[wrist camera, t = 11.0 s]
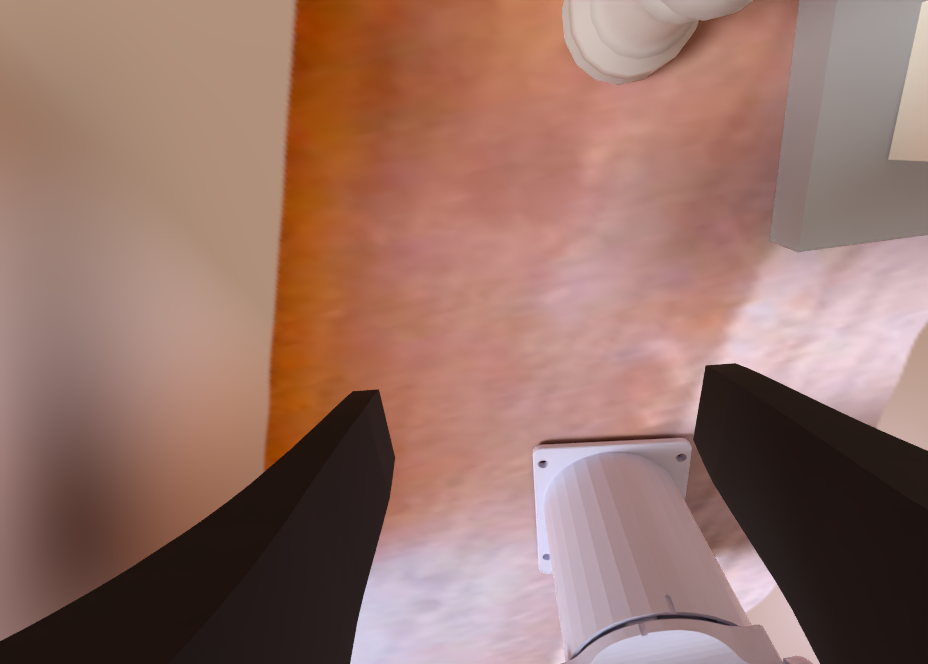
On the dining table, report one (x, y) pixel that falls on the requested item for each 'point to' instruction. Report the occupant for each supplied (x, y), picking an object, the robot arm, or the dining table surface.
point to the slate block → (848, 129)
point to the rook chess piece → (634, 33)
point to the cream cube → (914, 100)
